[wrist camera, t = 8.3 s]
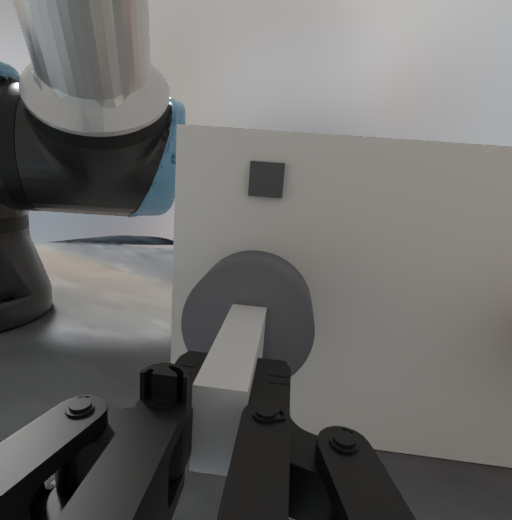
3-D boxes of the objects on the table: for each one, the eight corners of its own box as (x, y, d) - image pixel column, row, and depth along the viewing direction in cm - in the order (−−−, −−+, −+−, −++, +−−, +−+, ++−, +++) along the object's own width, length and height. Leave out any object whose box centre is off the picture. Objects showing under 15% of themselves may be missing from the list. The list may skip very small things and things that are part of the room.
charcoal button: (307, 397, 17) (322, 270, 16) (179, 381, 18) (183, 257, 16) (303, 320, 26) (312, 236, 25) (219, 311, 27) (223, 228, 25)
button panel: (611, 486, 21) (723, 159, 17) (166, 425, 23) (174, 123, 19) (531, 408, 28) (597, 164, 24) (197, 367, 31) (207, 137, 27)
